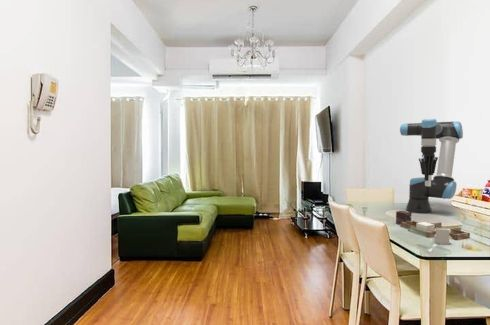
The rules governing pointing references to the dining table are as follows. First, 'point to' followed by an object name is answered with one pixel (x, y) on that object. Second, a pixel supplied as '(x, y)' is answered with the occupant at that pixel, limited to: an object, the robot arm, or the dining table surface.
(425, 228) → the block
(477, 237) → the dining table surface
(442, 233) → the grey square block
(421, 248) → the dining table surface
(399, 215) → the box
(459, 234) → the trap channel
